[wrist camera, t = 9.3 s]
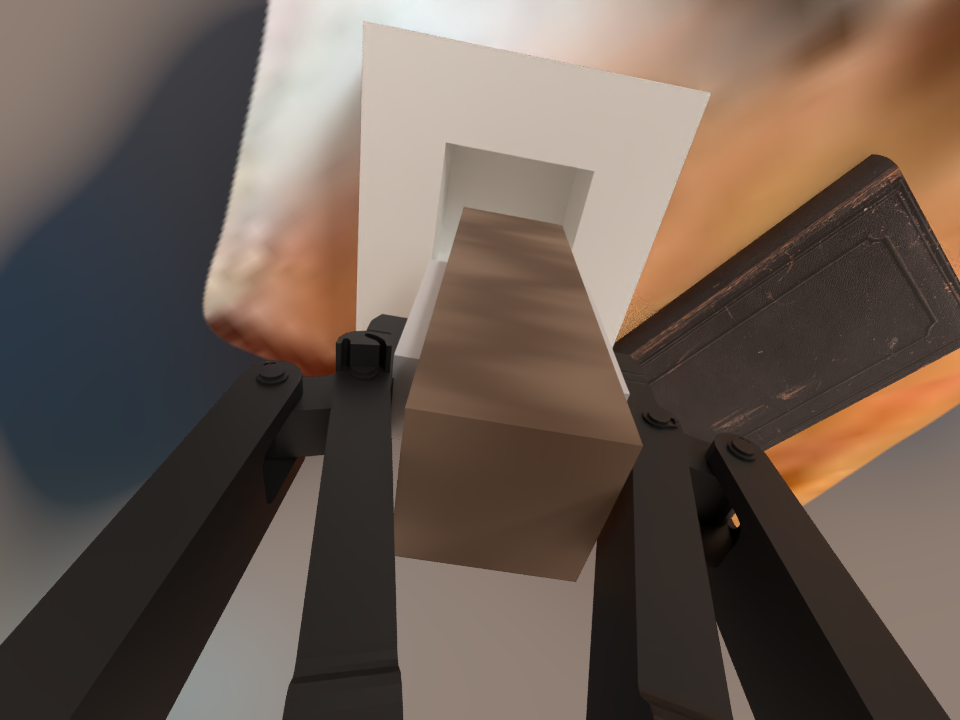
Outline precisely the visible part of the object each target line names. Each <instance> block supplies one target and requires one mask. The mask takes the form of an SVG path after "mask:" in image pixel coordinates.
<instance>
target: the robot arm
mask: <svg viewBox="0 0 960 720" xmlns="http://www.w3.org/2000/svg"><path fill="white" fill-rule="evenodd" d="M446 266H447V262H442V261H437V260H431V259H430V262H429V265H428V267H427V270H426V272H425V275H424V278H423V280H422V283H421V286H420V288H419V291H418V293H417V296H416V299H415V301H414V304H413V306H412V309H411V312H410V314H409V317H408V318H404V317H398V316H392V315H386V314H381V315H379V316H378V317H376V318H374V319H373V320H371V322H370V324H369V326H368V328H367V331H353V332H349V333H346V334H344V335H342V336H341V337H339V338H338V340H337V342H336V373H335V374H331V375H327V376H318V377H302V373H301V370H300V368H298V367H297V366H296V365H294V364H292V363H289V362H286V361H275V360H272V361H265V362H261V363H258V364H255V365H252V366H251V367H249V368H248V369H247V370H245V371H244V372H243V373H242V374H241V376H240V377H239V378H238V379H237V380H236V381H235V382H234V383H233V385H232V386H231V387H230V388H229V389H228V390H227V391H226V392H225V393H224V395H223V396H222V397H221V398H220V399H219V400H218V401H217V403H216V404H215V405H214V406H213V407H212V408H211V409H210V410H209V411H208V413H207V414H206V415H205V416H204V417H203V418H202V419H201V420H200V422H199V423H198V424H197V425H196V426H195V427H194V428H193V430H192V431H191V432H190V433H189V434H188V435H187V436H186V437H185V438H184V440H183V441H182V442H181V443H180V444H179V445H178V446H177V447H176V449H175V450H174V451H173V452H172V453H171V454H170V455H169V456H168V458H167V459H166V460H165V461H164V462H163V463H162V465H160V467H159V468H158V469H157V470H156V471H155V472H154V473H153V474H152V476H151V477H150V478H149V479H148V480H147V481H146V482H145V483H144V485H143V486H142V487H141V488H140V489H139V490H138V491H137V492H136V494H135V495H134V496H133V497H132V498H131V499H130V500H129V501H128V502H127V504H126V505H125V506H124V507H123V508H122V509H121V510H120V511H119V513H118V514H117V515H116V516H115V517H114V518H113V519H112V520H111V522H110V523H109V524H108V525H107V526H106V527H105V528H104V529H103V531H102V532H101V533H100V534H99V535H98V536H97V537H96V538H95V540H94V541H93V542H92V543H91V544H90V545H89V546H88V547H87V549H86V550H85V551H84V552H83V553H82V554H81V555H80V557H79V558H78V559H77V560H76V561H75V562H74V563H73V564H72V566H71V567H70V568H69V569H68V570H67V571H66V572H65V573H64V574H63V576H62V577H61V578H60V579H59V580H58V581H57V582H56V584H55V585H54V586H53V587H52V588H51V589H50V590H49V591H48V592H47V594H46V595H45V596H44V597H43V598H42V599H41V600H40V602H39V603H38V604H37V605H36V606H35V607H34V608H33V609H32V610H31V611H30V613H29V614H28V615H27V616H26V617H25V618H24V620H23V621H22V622H21V623H20V624H19V625H18V626H17V627H16V628H15V630H14V631H13V632H12V633H11V634H10V635H9V636H8V637H7V638H6V640H5V641H4V642H3V643H2V644H1V645H0V720H166V718H167V716H168V714H169V712H170V710H171V709H172V707H173V705H174V703H175V701H176V699H177V697H178V695H179V694H180V692H181V690H182V688H183V686H184V684H185V682H186V681H187V679H188V677H189V675H190V673H191V671H192V669H193V667H194V666H195V664H196V662H197V660H198V658H199V656H200V654H201V652H202V650H203V649H204V647H205V645H206V643H207V641H208V639H209V637H210V635H211V634H212V632H213V630H214V628H215V626H216V624H217V622H218V621H219V619H220V617H221V615H222V613H223V611H224V609H225V607H226V606H227V604H228V602H229V600H230V598H231V596H232V594H233V593H234V591H235V589H236V587H237V585H238V583H239V581H240V579H241V578H242V576H243V574H244V572H245V570H246V568H247V566H248V564H249V563H250V560H251V559H252V557H253V555H254V553H255V551H256V549H257V547H258V546H259V544H260V542H261V540H262V538H263V536H264V534H265V533H266V531H267V529H268V527H269V525H270V523H271V521H272V520H273V518H274V516H275V514H276V512H277V510H278V508H279V506H280V505H281V503H282V501H283V499H284V497H285V495H286V493H287V491H288V490H289V488H290V486H291V484H292V482H293V480H294V478H295V477H296V475H297V473H298V471H299V469H300V467H301V465H302V463H303V462H304V459H305V456H314V455H324V462H323V470H322V476H321V483H320V491H319V498H318V505H317V513H316V520H315V527H314V534H313V541H312V549H311V556H310V564H309V570H308V578H307V585H306V592H305V599H304V607H303V614H302V621H301V629H300V636H299V643H298V650H297V658H296V664H295V671H294V675H293V678H292V680H291V682H290V684H289V687H288V691H287V696H286V701H285V707H284V713H283V719H282V720H403V702H402V682H401V672H400V669H399V666H398V657H397V656H398V655H397V622H396V584H395V545H394V508H393V471H392V438H393V439H400V440H402V432H403V423H404V413H405V406H406V403H407V399H408V396H409V393H410V389H411V386H412V382H413V379H414V375H415V372H416V369H417V365H418V362H419V358H420V355H421V351H422V348H423V345H424V341H425V338H426V334H427V331H428V327H429V324H430V321H431V317H432V314H433V310H434V307H435V303H436V300H437V297H438V293H439V290H440V286H441V283H442V279H443V276H444V273H445V269H446ZM585 289H586V292H587V294H588V297H589V300H590V302H591V305H592V308H593V311H594V313H595V316H596V319H597V322H598V324H599V327H600V330H601V332H602V335H603V338H604V341H605V343H606V346H607V349H608V352H609V354H610V357H611V360H612V362H613V365H614V368H615V371H616V373H617V376H618V379H619V382H620V384H621V387H622V390H623V392H624V395H625V398H626V401H627V403H628V406H629V409H630V412H631V414H632V417H633V420H634V422H635V425H636V428H637V431H638V433H639V436H640V439H641V442H642V444H643V447H642V450H641V452H640V454H639V456H638V458H637V460H636V462H635V464H634V466H633V468H632V470H631V472H630V474H629V476H628V478H627V480H626V482H625V484H624V486H623V488H622V490H621V492H620V494H619V496H618V498H617V500H616V502H615V504H614V506H613V508H612V510H611V512H610V514H609V516H608V518H607V520H606V522H605V524H604V526H603V528H602V530H601V532H600V534H599V536H598V538H597V548H596V565H595V582H594V597H593V614H592V630H591V647H590V664H589V680H588V698H587V714H586V720H733V716H732V711H731V705H730V700H729V693H728V688H727V682H726V676H725V670H724V665H723V659H722V653H721V647H720V642H719V636H718V630H717V625H718V627H719V630H720V632H721V635H722V637H723V639H724V642H725V645H726V647H727V650H728V652H729V655H730V657H731V660H732V662H733V665H734V667H735V670H736V672H737V675H738V677H739V680H740V682H741V685H742V687H743V690H744V693H745V695H746V698H747V700H748V702H749V705H750V708H751V710H752V713H753V715H754V718H755V720H951V719H950V718H949V717H948V715H947V714H946V712H945V711H944V709H943V708H942V706H941V705H940V704H939V702H938V701H937V699H936V698H935V697H934V695H933V694H932V692H931V691H930V689H929V688H928V687H927V685H926V684H925V682H924V681H923V679H922V678H921V676H920V675H919V674H918V672H917V671H916V669H915V668H914V666H913V665H912V663H911V662H910V661H909V659H908V658H907V656H906V655H905V654H904V652H903V650H902V649H901V648H900V646H899V645H898V643H897V642H896V641H895V639H894V637H893V636H892V635H891V633H890V632H889V630H888V629H887V627H886V626H885V625H884V623H883V622H882V620H881V619H880V617H879V616H878V614H877V613H876V612H875V610H874V609H873V608H872V606H871V604H870V603H869V602H868V600H867V599H866V598H865V596H864V594H863V593H862V592H861V590H860V589H859V587H858V586H857V584H856V583H855V581H854V580H853V579H852V577H851V576H850V574H849V573H848V571H847V570H846V569H845V567H844V566H843V564H842V563H841V561H840V560H839V558H838V557H837V556H836V554H835V553H834V551H833V550H832V548H831V547H830V545H829V544H828V543H827V541H826V540H825V538H824V537H823V535H822V534H821V533H820V531H819V530H818V528H817V527H816V525H815V524H814V523H813V521H812V520H811V518H810V517H809V515H808V514H807V512H806V511H805V510H804V508H803V507H802V505H801V504H800V502H799V501H798V499H797V498H796V497H795V495H794V494H793V492H792V491H791V489H790V488H789V487H788V485H787V484H786V482H785V481H784V479H783V478H782V476H781V475H780V474H779V472H778V471H777V469H776V468H775V466H774V465H773V464H772V462H771V461H770V459H769V458H768V456H767V455H766V454H765V453H764V452H763V450H762V449H761V448H760V447H759V446H757V445H756V444H754V443H753V442H752V441H751V440H749V439H747V438H744V437H743V436H740V435H736V434H732V433H720V434H718V435H716V436H715V438H714V439H713V441H712V443H708V442H705V441H703V440H700V439H697V438H695V437H692V436H690V435H687V434H685V433H683V429H682V426H681V424H680V422H679V420H678V419H677V418H676V417H675V416H674V415H673V414H671V413H670V412H668V411H666V410H665V409H663V408H660V407H658V404H657V402H656V400H655V398H654V396H653V393H652V391H651V389H650V387H649V385H647V384H648V382H647V380H646V378H645V377H644V373H643V371H642V369H641V367H640V365H639V364H638V363H637V362H636V361H635V360H634V359H633V358H632V357H631V356H630V355H626V354H620V353H614V352H613V349H612V347H611V344H610V341H609V339H608V336H607V333H606V331H605V328H604V326H603V323H602V320H601V318H600V315H599V313H598V310H597V307H596V305H595V302H594V300H593V297H592V294H591V292H590V289H589V288H587V287H585ZM735 513H736V515H737V517H738V519H739V522H740V525H739V527H736V526H735V525H734V523H733V521H732V519H731V518H732V517H733V515H734V514H735ZM716 622H717V625H716Z"/></svg>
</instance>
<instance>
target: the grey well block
mask: <svg viewBox="0 0 960 720" xmlns="http://www.w3.org/2000/svg"><path fill="white" fill-rule="evenodd" d="M710 95H711V93H710V92H705V91H701V90H696V89H691V88H686V87H681V86H676V85H671V84H666V83H662V82H657V81H652V80H647V79H642V78H637V77H632V76H628V75H623V74H618V73H613V72H608V71H603V70H598V69H593V68H589V67H584V66H579V65H574V64H569V63H564V62H559V61H555V60H550V59H545V58H540V57H535V56H530V55H525V54H520V53H516V52H511V51H506V50H501V49H496V48H491V47H486V46H481V45H477V44H472V43H467V42H462V41H457V40H452V39H447V38H443V37H438V36H433V35H428V34H423V33H418V32H413V31H408V30H404V29H399V28H394V27H389V26H384V25H379V24H374V23H370V22H365V21H364V25H363V65H362V105H361V145H360V185H359V225H358V265H357V305H356V331H367V328H368V326H369V324H370V322H371V320H373V319H374V318H376V317H378V316H379V315H381V314H386V315H392V316H398V317H404V318H408V317H409V314H410V312H411V309H412V306H413V304H414V301H415V299H416V296H417V293H418V291H419V288H420V286H421V283H422V280H423V278H424V275H425V272H426V270H427V267H428V265H429V262H430V259H431V260H437V261H442V262H448V259H449V255H450V252H451V249H452V245H453V242H454V238H455V235H456V231H457V228H458V225H459V221H460V218H461V214H462V211H463V207H467V208H473V209H478V210H483V211H489V212H494V213H500V214H505V215H510V216H516V217H521V218H526V219H532V220H537V221H543V222H548V223H553V224H559V225H562V226H563V229H564V232H565V234H566V237H567V240H568V243H569V245H570V248H571V251H572V253H573V256H574V259H575V262H576V264H577V267H578V270H579V273H580V275H581V278H582V281H583V283H584V286H585V287H587V288H589V289H590V292H591V294H592V297H593V300H594V302H595V305H596V307H597V310H598V313H599V315H600V318H601V320H602V323H603V326H604V328H605V331H606V333H607V336H608V339H609V341H610V344H611V347H612V348H613V346H614V343H615V340H616V338H617V335H618V333H619V330H620V327H621V325H622V322H623V320H624V317H625V315H626V312H627V309H628V307H629V304H630V302H631V299H632V296H633V294H634V291H635V289H636V286H637V284H638V281H639V278H640V276H641V273H642V271H643V268H644V265H645V263H646V260H647V258H648V255H649V252H650V250H651V247H652V245H653V242H654V240H655V237H656V234H657V232H658V229H659V227H660V224H661V221H662V219H663V216H664V214H665V211H666V209H667V206H668V203H669V201H670V198H671V196H672V193H673V190H674V188H675V185H676V183H677V180H678V178H679V175H680V172H681V170H682V167H683V165H684V162H685V159H686V157H687V154H688V152H689V149H690V147H691V144H692V141H693V139H694V136H695V134H696V131H697V128H698V126H699V123H700V121H701V118H702V115H703V113H704V110H705V108H706V105H707V103H708V100H709V97H710Z"/></svg>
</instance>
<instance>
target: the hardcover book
mask: <svg viewBox="0 0 960 720" xmlns="http://www.w3.org/2000/svg"><path fill="white" fill-rule="evenodd" d="M959 348H960V282H959V280H958V278H957V276H956V274H955V272H954V270H953V268H952V267H951V265H950V263H949V261H948V259H947V257H946V255H945V253H944V252H943V250H942V248H941V246H940V244H939V242H938V240H937V238H936V237H935V235H934V233H933V231H932V229H931V227H930V225H929V223H928V222H927V220H926V218H925V216H924V214H923V212H922V210H921V208H920V207H919V205H918V203H917V201H916V199H915V197H914V195H913V193H912V192H911V190H910V188H909V186H908V184H907V182H906V180H905V178H904V177H903V175H902V173H901V171H900V169H899V167H898V166H897V165H896V164H895V163H894V162H893V161H892V160H890V159H889V158H887V157H884V156H881V155H871V156H870V157H868V158H867V159H865V160H864V161H863V162H861V163H860V164H859V165H857V166H856V167H855V168H853V169H852V170H851V171H849V172H848V173H846V174H845V175H844V176H842V177H841V178H840V179H838V180H837V181H836V182H834V183H833V184H831V185H830V186H829V187H827V188H826V189H825V190H823V191H822V192H821V193H819V194H818V195H816V196H815V197H814V198H812V199H811V200H810V201H808V202H807V203H806V204H804V205H803V206H801V207H800V208H799V209H797V210H796V211H795V212H793V213H792V214H791V215H789V216H788V217H786V218H785V219H784V220H782V221H781V222H780V223H778V224H777V225H776V226H774V227H773V228H771V229H770V230H769V231H767V232H766V233H765V234H763V235H762V236H761V237H759V238H758V239H756V240H755V241H754V242H752V243H751V244H750V245H748V246H747V247H746V248H744V249H743V250H742V251H740V252H739V253H737V254H736V255H735V256H733V257H732V258H731V259H729V260H728V261H727V262H725V263H724V264H722V265H721V266H720V267H718V268H717V269H716V270H714V271H713V272H712V273H710V274H709V275H707V276H706V277H705V278H703V279H702V280H701V281H699V282H698V283H697V284H695V285H694V286H692V287H691V288H690V289H688V290H687V291H686V292H684V293H683V294H682V295H680V296H679V297H677V298H676V299H675V300H673V301H672V302H671V303H669V304H668V305H667V306H665V307H664V308H662V309H661V310H660V311H658V312H657V313H656V314H654V315H653V316H652V317H650V318H649V319H647V320H646V321H645V322H643V323H642V324H641V325H639V326H638V327H637V328H635V329H634V330H633V331H631V332H630V333H628V334H627V335H626V336H624V337H623V338H622V339H620V340H619V341H618V342H616V343H615V344H614V346H613V348H612V349H613V352H614V353H620V354H626V355H630V356H631V357H632V358H633V359H634V360H635V361H636V362H637V363H638V364H639V365H640V367H641V369H642V371H643V373H644V377H645V378H646V380H647V382H648V384H647V385H649V387H650V389H651V391H652V393H653V396H654V398H655V400H656V402H657V404H658V407H660V408H663V409H665V410H666V411H668V412H670V413H671V414H673V415H674V416H675V417H676V418H677V419H678V420H679V422H680V424H681V426H682V429H683V433H685V434H687V435H690V436H692V437H695V438H697V439H700V440H703V441H705V442H708V443H712V441H713V439H714V438H715V436H716V435H718V434H720V433H732V434H736V435H740V436H743V437H744V438H747V439H749V440H751V441H752V442H753V443H754V444H756V445H757V446H759V447H760V448H761V449H762V450H763V451H765V450H767V449H769V448H771V447H773V446H774V445H776V444H778V443H780V442H782V441H784V440H786V439H788V438H790V437H792V436H793V435H795V434H797V433H799V432H801V431H803V430H805V429H807V428H809V427H811V426H812V425H814V424H816V423H818V422H820V421H822V420H824V419H826V418H828V417H830V416H831V415H833V414H835V413H837V412H839V411H841V410H843V409H845V408H847V407H849V406H850V405H852V404H854V403H856V402H858V401H860V400H862V399H864V398H866V397H868V396H869V395H871V394H873V393H875V392H877V391H879V390H881V389H883V388H885V387H887V386H888V385H890V384H892V383H894V382H896V381H898V380H900V379H902V378H904V377H906V376H907V375H909V374H911V373H913V372H915V371H917V370H919V369H921V368H923V367H925V366H926V365H928V364H930V363H932V362H934V361H936V360H938V359H940V358H942V357H944V356H945V355H947V354H949V353H951V352H953V351H955V350H957V349H959Z"/></svg>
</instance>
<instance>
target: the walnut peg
mask: <svg viewBox="0 0 960 720" xmlns="http://www.w3.org/2000/svg"><path fill="white" fill-rule="evenodd" d="M642 447H643V444H642V442H641V439H640V436H639V433H638V431H637V428H636V425H635V422H634V420H633V417H632V414H631V412H630V409H629V406H628V403H627V401H626V398H625V395H624V392H623V390H622V387H621V384H620V382H619V379H618V376H617V373H616V371H615V368H614V365H613V362H612V360H611V357H610V354H609V352H608V349H607V346H606V343H605V341H604V338H603V335H602V332H601V330H600V327H599V324H598V322H597V319H596V316H595V313H594V311H593V308H592V305H591V302H590V300H589V297H588V294H587V292H586V289H585V286H584V283H583V281H582V278H581V275H580V273H579V270H578V267H577V264H576V262H575V259H574V256H573V253H572V251H571V248H570V245H569V243H568V240H567V237H566V234H565V232H564V229H563V226H562V225H559V224H553V223H548V222H543V221H537V220H532V219H526V218H521V217H516V216H510V215H505V214H500V213H494V212H489V211H483V210H478V209H473V208H467V207H463V211H462V214H461V218H460V221H459V225H458V228H457V231H456V235H455V238H454V242H453V245H452V249H451V252H450V255H449V259H448V262H447V266H446V269H445V273H444V276H443V279H442V283H441V286H440V290H439V293H438V297H437V300H436V303H435V307H434V310H433V314H432V317H431V321H430V324H429V327H428V331H427V334H426V338H425V341H424V345H423V348H422V351H421V355H420V358H419V362H418V365H417V369H416V372H415V375H414V379H413V382H412V386H411V389H410V393H409V396H408V399H407V403H406V406H405V413H404V423H403V432H402V443H401V452H400V462H399V471H398V480H397V490H396V500H395V510H394V545H395V556H399V557H406V558H413V559H420V560H427V561H434V562H440V563H447V564H454V565H462V566H468V567H475V568H482V569H489V570H497V571H503V572H510V573H517V574H524V575H531V576H538V577H545V578H553V579H559V580H566V581H574V582H576V581H577V579H578V576H579V574H580V573H581V570H582V569H583V567H584V565H585V563H586V561H587V558H588V557H589V555H590V552H591V550H592V548H593V546H594V544H595V542H596V540H597V538H598V536H599V534H600V532H601V530H602V528H603V526H604V524H605V522H606V520H607V518H608V516H609V514H610V512H611V510H612V508H613V506H614V504H615V502H616V500H617V498H618V496H619V494H620V492H621V490H622V488H623V486H624V484H625V482H626V480H627V478H628V476H629V474H630V472H631V470H632V468H633V466H634V464H635V462H636V460H637V458H638V456H639V454H640V452H641V450H642Z"/></svg>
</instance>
